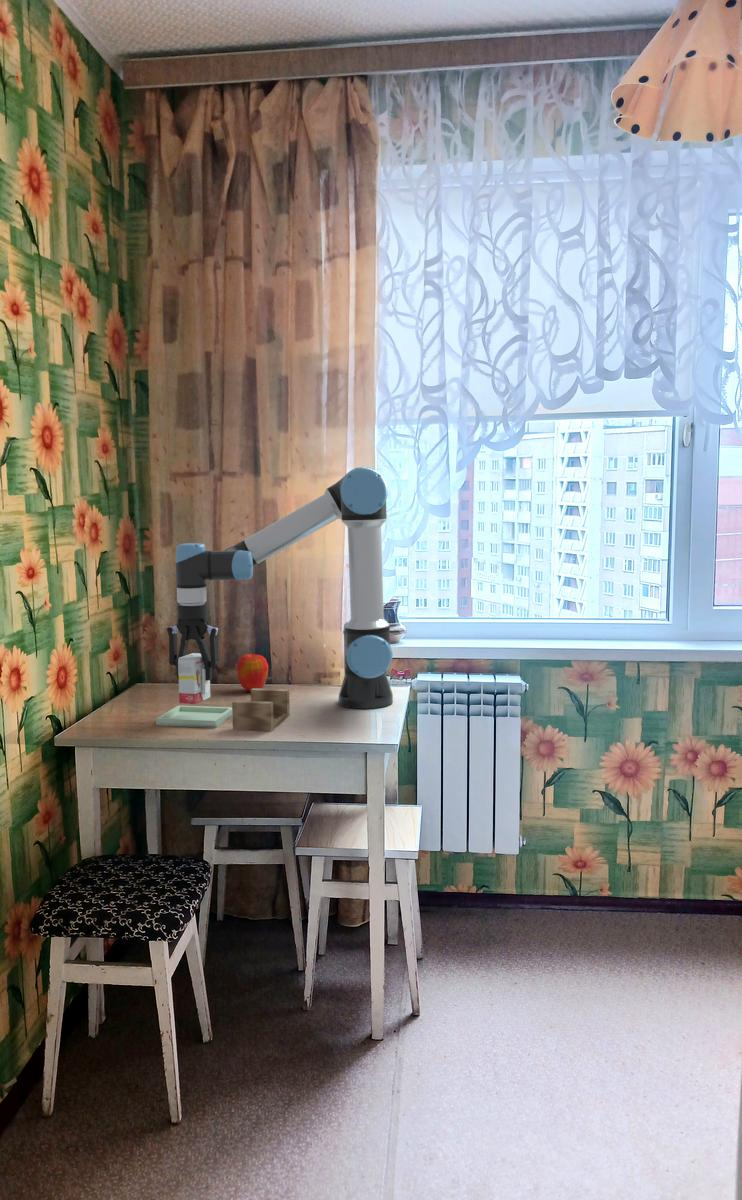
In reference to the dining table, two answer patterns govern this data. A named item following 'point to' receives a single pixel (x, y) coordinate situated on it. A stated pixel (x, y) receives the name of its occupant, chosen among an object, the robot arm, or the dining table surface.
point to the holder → (261, 710)
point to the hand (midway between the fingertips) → (194, 691)
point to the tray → (195, 716)
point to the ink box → (191, 679)
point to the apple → (252, 671)
